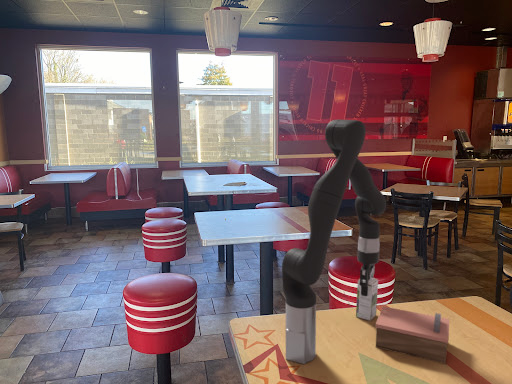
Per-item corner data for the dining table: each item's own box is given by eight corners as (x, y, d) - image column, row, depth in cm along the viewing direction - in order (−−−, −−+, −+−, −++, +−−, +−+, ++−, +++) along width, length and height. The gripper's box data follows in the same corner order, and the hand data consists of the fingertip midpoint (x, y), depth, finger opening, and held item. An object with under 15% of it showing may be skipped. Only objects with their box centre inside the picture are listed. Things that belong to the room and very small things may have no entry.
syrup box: (361, 311, 146) (362, 275, 144) (376, 315, 142) (378, 278, 140) (355, 316, 141) (356, 279, 139) (371, 321, 138) (372, 283, 136)
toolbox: (445, 363, 112) (447, 343, 111) (375, 346, 122) (376, 328, 120) (446, 342, 124) (448, 323, 123) (382, 328, 133) (383, 310, 132)
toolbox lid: (448, 343, 111) (449, 331, 110) (375, 327, 120) (375, 316, 120) (449, 322, 123) (449, 312, 122) (382, 309, 132) (383, 299, 132)
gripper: (362, 242, 146) (360, 282, 148) (353, 252, 133) (351, 296, 136) (382, 245, 142) (380, 286, 145) (375, 255, 130) (373, 300, 132)
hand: (366, 291), depth 140 cm, fingers open, 8 cm apart
